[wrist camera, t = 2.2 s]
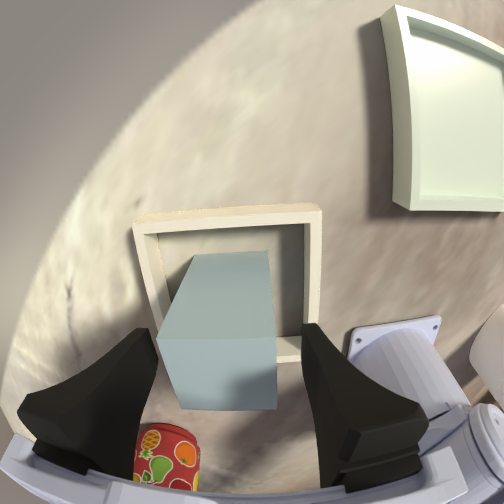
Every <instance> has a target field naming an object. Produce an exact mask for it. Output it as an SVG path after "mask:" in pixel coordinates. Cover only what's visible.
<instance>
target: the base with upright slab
mask: <svg viewBox="0 0 504 504" xmlns="http://www.w3.org/2000/svg"><path fill="white" fill-rule="evenodd" d="M469 361H470V363H471V365H472V366H473V368H474V369H475V370H476V372H477V373H478V375H479V376H480V378H481V379H482V380H483V382H484V383H485V385H486V386H487V388H488V389H489V391H490V392H491V394H492V395H493V397H494V399H495V400H496V401H498V402H499V404H500V405H501V407H502V409H503V410H504V304H502V305H501V306H500V307H499V308H498V309H497V310H496V311H495V312H494V313H493V314H492V315H491V316H490V317H489V318H488V320H487V321H486V322H485V324H484V325H483V326H482V328H481V329H480V331H479V333H478V334H477V336H476V338H475V340H474V342H473V344H472V347H471V350H470V354H469Z"/></svg>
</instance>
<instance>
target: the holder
mask: <svg viewBox="0 0 504 504" xmlns="http://www.w3.org/2000/svg"><path fill="white" fill-rule="evenodd" d="M298 223H304V308H303V324H305V323H316V324H318V314H319V298H320V277H321V248H322V210H321V209H320V208H319V207H318V206H317V205H316V204H315V203H314V202H311V203H288V204H268V205H251V206H236V207H222V208H209V209H197V210H186V211H175V212H165V213H155V214H146V215H143V216H142V217H141V218H139V219H138V220H137V221H135V222H134V223H133V224H132V229H133V234H134V239H135V244H136V249H137V253H138V258H139V262H140V266H141V271H142V275H143V279H144V283H145V287H146V291H147V295H148V298H149V302H150V306H151V309H152V313H153V316H154V320H155V323H156V327H157V330H158V333H159V331H160V328H161V326H162V324H163V322H164V319H165V317H166V315H167V313H168V311H169V308H170V306H171V300H170V296H169V291H168V287H167V282H166V278H165V273H164V268H163V263H162V258H161V253H160V248H159V242H158V237H157V233H161V232H174V231H187V230H200V229H214V228H229V227H244V226H261V225H279V224H298ZM301 340H302V336H291V337H276V350H277V363H283V362H296V361H301Z"/></svg>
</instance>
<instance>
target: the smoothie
mask: <svg viewBox="0 0 504 504" xmlns="http://www.w3.org/2000/svg"><path fill="white" fill-rule="evenodd" d="M199 466H200V448H199V447H198V446H197V441H196V438H195V437H194V436H193V435H192V434H191V433H189V432H188V431H186V430H184V429H182V428H180V427H177V426H173V425H169V424H162V423H161V424H152V425H149V426H148V427H147V429H146V430H145V431H143V432H141V433H140V434H139V437H138V439H137V442H136V448H135V458H134V472H133V481H135V482H139V483H144V484H149V485H154V486H160V487H166V488H172V489H179V490H187V491H197V492H198V482H199Z"/></svg>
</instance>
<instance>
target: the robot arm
mask: <svg viewBox="0 0 504 504" xmlns="http://www.w3.org/2000/svg"><path fill="white" fill-rule="evenodd" d="M440 323H441V317H440V316H439V315H434V316H429V317H424V318H418V319H412V320H407V321H401V322H394V323H388V324H381V325H374V326H367V327H360V328H356V329H354V330H353V332H352V334H351V340H350V346H349V351H348V357H347V359H346V358H345V357H344V356H343V355H342V353H341V352H340V351H339V350H338V349H337V348H336V347H335V346H334V345H333V344H332V342H331V341H330V340H329V339H328V338H327V336H326V335H325V334H324V333H323V331H322V330H321V328H320V327H319V326H318V324H316V323H305V324H302V340H301V363H302V371H303V377H304V381H305V385H306V389H307V393H308V396H309V400H310V404H311V408H312V412H313V417H314V423H315V431H316V439H317V448H318V459H319V471H320V487H321V489H314V490H306V491H297V492H285V493H268V494H225V493H208V492H197V491H187V490H179V489H172V488H166V487H160V486H154V485H149V484H144V483H139V482H135V481H133V472H134V458H135V448H136V442H137V435H138V430H139V425H140V420H141V416H142V413H143V410H144V407H145V404H146V401H147V398H148V396H149V393H150V390H151V387H152V384H153V382H154V379H155V375H156V371H157V366H158V360H159V359H158V356H157V353H156V350H155V347H154V344H153V341H152V339H151V335H150V332H149V329H148V328H136V329H135V330H134V331H132V332H131V333H130V334H129V335H128V336H127V337H125V338H124V339H123V340H122V341H121V342H120V343H118V344H117V345H116V346H115V347H114V348H113V349H111V350H110V351H109V352H108V353H107V354H105V355H104V356H103V357H102V358H100V359H99V360H98V361H96V362H95V363H94V364H92V365H91V366H90V367H88V368H87V369H85V370H83V371H82V372H80V373H79V374H77V375H75V376H73V377H71V378H69V379H67V380H66V381H64V382H62V383H59V384H57V385H55V386H52V387H50V388H47V389H44V390H41V391H37V392H34V393H30V394H27V396H26V397H25V399H24V400H23V402H22V404H21V405H20V407H19V409H18V410H17V414H18V417H19V419H20V420H21V421H22V423H23V424H24V425H25V426H26V427H27V429H28V430H29V431H30V432H31V433H32V434H33V435H34V436H35V437H36V438H37V440H36V442H35V443H34V442H33V441H31V440H30V439H28V438H26V437H24V436H22V435H20V434H18V433H15V435H14V437H13V438H12V440H11V442H10V444H9V446H8V448H7V450H6V452H5V454H4V456H3V458H2V460H1V462H0V469H1V470H2V471H4V472H5V473H6V474H7V475H8V476H10V477H11V478H12V479H13V480H15V481H16V482H17V483H19V484H20V485H22V486H23V487H24V488H25V489H27V490H28V491H30V492H31V493H33V494H35V495H36V496H38V497H40V498H42V499H44V500H46V501H47V502H49V503H51V504H504V414H503V413H502V412H501V411H500V410H499V409H498V408H497V407H496V406H494V405H492V404H483V403H479V404H477V405H476V406H475V407H472V406H471V404H470V403H469V401H468V399H467V398H466V396H465V394H464V393H463V391H462V389H461V388H460V386H459V384H458V383H457V381H456V380H455V378H454V377H453V375H452V373H451V372H450V370H449V369H448V367H447V366H446V364H445V363H444V361H443V360H442V358H441V357H440V355H439V354H438V352H437V351H436V349H435V348H434V346H433V344H434V341H435V338H436V335H437V332H438V329H439V326H440ZM358 338H360V339H359V340H356V339H358Z"/></svg>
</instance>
